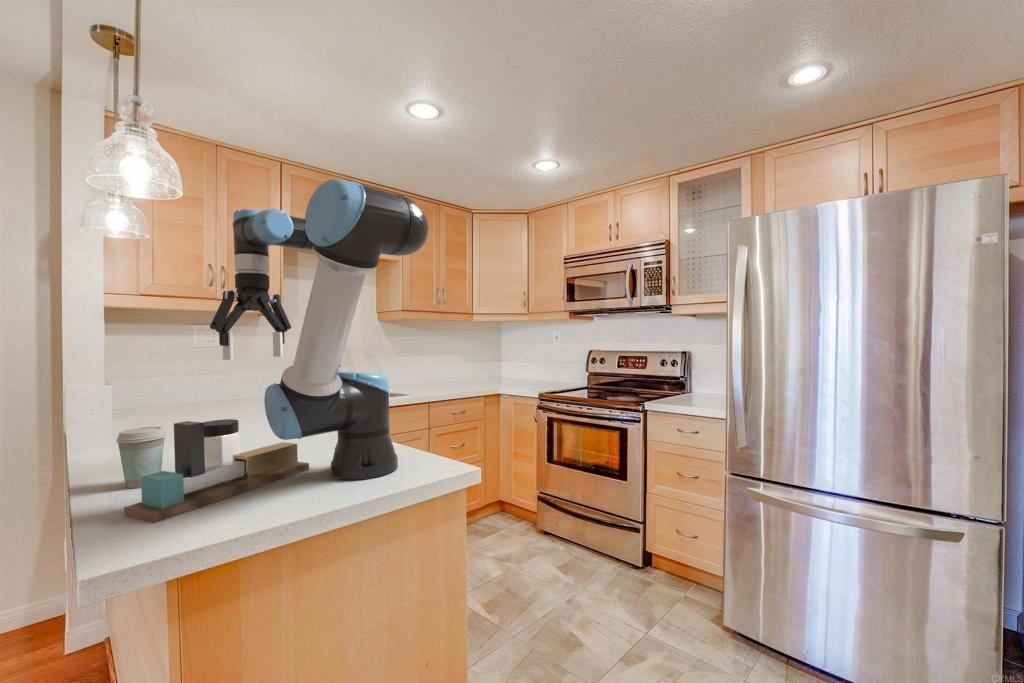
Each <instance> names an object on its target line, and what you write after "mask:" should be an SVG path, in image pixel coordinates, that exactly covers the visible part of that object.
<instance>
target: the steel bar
mask: <svg viewBox="0 0 1024 683" xmlns="http://www.w3.org/2000/svg"><path fill="white" fill-rule="evenodd" d="M173 439H174V440H173V441H174V446H173V447H174V473H179V474H183V487H184V494H186V493H189V492H192V491H196V490H199V489H202V488H205V487H209V486H212V485H215V484H218V483H221V482H225V481H228V480H231V479H234V478H237V477H241V476H244V475H246V460H244V459H237V460H233V461H229V462H226V463H222V464H218V465H215V466H211V467H207V468H205V454H204V423H203V422H199V421H192V420H191V421H190V420H187V421H186V420H185V421H181V422H174V423H173Z"/></svg>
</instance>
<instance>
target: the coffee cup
mask: <svg viewBox="0 0 1024 683" xmlns="http://www.w3.org/2000/svg"><path fill="white" fill-rule="evenodd" d="M165 437H167V433H166V432H165V430H164V427H162V426H146V427H145V426H144V427H136V428H130V429H125V430H122V431H119V432H118V436H117V438H116V442H115V443H117V445H118V450H119V456H120V462H121V466H122V473H123V477H124V482H125V488H127V489H139V488H141V477H142V476H146V475H150V474H154V473H158V472H161V471H162V466H163V455H164V448H165V446H164V445H165Z"/></svg>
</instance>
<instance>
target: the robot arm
mask: <svg viewBox="0 0 1024 683" xmlns="http://www.w3.org/2000/svg"><path fill="white" fill-rule="evenodd" d="M232 216H233V217H232V218H233V220H232V224H231V225H232V230H233V251H234V252H233V254H234V256H233V259H234V271H235V272H236V273H235V274H234V287H235V289H236V291H234V290H232V289H231V290H224V291H223V292H222V300H221V302H220V304H219V306H218V309H217V310H216V312H215V315H214V316H213V319H212V321H211V323H210V325H209V328H210V329H211V330H215V332H217V333H218V334H219V340H218V341H219V346H222V359H223V360H226V361H227V360H232V361H233V360H234V359H235V358H234V357H235V356H234V332H233V331H230V330H231V329H232V327H233V326H235V324H236V322H238V321H239V319H240V318H241V317H242V315H243V314H244V313H245V312H247V311H253V312H259V313H260V314H262V315H263V316H264V318H265V319H266V321H267V322H268V323H269V324H270V325H271V327H272V328H273V330H274V331H273V332H272V350H273V351H272V354H273V355H272V356H273V357H274V358H275V357H277V358H278V357H279V358H281V357H282V358H283V357H284V346H283V345H284V344H285V342H286V341H285V333H287V332H288V330H291V329H292V325H291V323H290V321H289V318H288V316H287V314H286V312H285V310H284V308H283V305H282V303H281V297H280V295H279V294H269V289H270V275H269V273H270V264H269V263H270V259H269V257H270V255H269V246H277V247H285V248H293V249H302V250H308V251H313V252H314V253H315V254H314V255H316V257H317V258H318V262H317V266H316V270H315V272H314V273H315V274H314V277H313V278H314V279H313V282H312V287H311V291H310V295H309V298H308V303H307V307H306V310H305V314H304V315H305V316H304V319H303V323H302V328H301V332H300V335H299V338H298V342H297V343H298V344H297V346H296V347H297V348H296V352H295V356H294V360H293V365H290V366H288V367H287V368H285V369H284V370H283V372H282V373H281V378H280V383H273V384H270V385H269V386H267V388H266V389H265V392H264V398H263V400H264V402H263V403H264V411H265V415H266V418H267V419H266V420H267V422H268V425H269V427H270V429H271V431H272V433H273V434H274V435H275V436H276V437H277V438H278V439H280V440H283V441H288V440H294V439H298V440H300V439H302V438H307V437H312V436H318V435H322V434H327V433H328V434H329V433H332V432H333V433H334V432H337V443H336V445H335V449H334V453H333V457H332V460H331V461H330V464H329V465H330V467H329V468H330V470H329V471H330V475H331V477H333V478H335V479H340V480H349V481H350V480H365V479H373V478H377V477H378V478H379V477H383V476H385V475H388V474H391V473H392V472H395V471H396V470H397V469H398V467H399V461H398V460H399V459H398V456H397V453H396V452H395V448H394V445H393V442H392V441H393V440H392V439H391V436H390V402H389V401H390V400H389V398H390V397H389V396H390V389H389V381H388V378H387V377H386V376H385V375H384V374H381V373H367V372H365V373H363V372H351V371H350V372H346V371H339V370H340V366H341V362H342V359H343V355H344V352H345V348H346V345H347V341H348V337H349V334H350V331H351V328H352V324H353V320H354V316H355V313H356V310H357V306H358V302H359V300H360V296H361V292H362V288H363V285H364V282H365V278H366V274H367V273H369V272H371V271H373V270H376V269H377V266H378V263H379V260H380V257H381V255H387V256H400V257H401V256H407V255H411V254H414V253H415V252H416V253H417V252H418V251H419V250H420V249H421V248H422V247H423V246H424V245H425V243H426V241H427V238H428V235H429V221H428V218H427V216H426V213H425V211H424V210H423V209H422V207H421V206H420V205H419V204H418V203H417V202H416V201H415V200H413V199H411V198H409V197H408V196H405V195H403V194H399V193H394V192H390V191H387V190H383V189H379V188H376V187H373V186H369V185H366V184H362V183H359V182H357V181H353V180H352V181H350V180H349V181H348V180H346V179H345V180H343V179H340V178H330V179H328V180H325V181H324V182H322V184H319V185H318V187H317V188H316V189H315V190H314V191H313V193H312V195H311V196H310V198H309V200H308V203H307V205H306V210H305V214H304V218H302V217H297V216H291V215H288V214H287V213H286V212H284V211H283V210H281V209H278V208H268V209H265V210H264V209H263V210H258V209H253V208H252V209H251V208H242V209H241V208H240V209H237V210H235V211H234V213H233V215H232ZM235 300H236V301H237V303H236V304H234V301H235ZM233 305H234V306H233ZM232 306H233V309H232V311H230V310H231V308H232ZM229 312H230V313H229Z"/></svg>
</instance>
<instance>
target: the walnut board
mask: <svg viewBox="0 0 1024 683" xmlns="http://www.w3.org/2000/svg"><path fill="white" fill-rule="evenodd" d="M308 470H310V463H309V462H304V461H298V464H295V465H292V466H289V467H286V468H283V469H280V470H277V471H274V472H271V473H267V474H264V475H261V476H258V477H255V478H252V479H249V480H248V479H241V478H234V479H231V480H228V481H225V482H221V483H218V484H215V485H212V486H209V487H205V488H202V489H199V490H196V491H192V492H189V493H186V494H184V502H181V503H178V504H175V505H172V506H169V507H166V508H163V509H161V508H156V507H152V506H147V505H143V504H142V501H140V502H137V503H134V504H130V505H128V506H124V510H123V511H124V516H126V517H130V518H133V519H136V520H137V519H138V520H143V521H147V522H151V523H158V522H161V521H164V520H167V519H168V518H169V519H170V518H172V517H175V516H178V515H180V514H184V513H187V512H189V511H192V510H195V509H197V508H201V507H205V506H207V505H210V504H213V503H216V502H218V501H221V500H224V499H227V498H230V497H233V496H236V495H239V494H241V493H245V492H247V491H249V490H250V491H251V490H253V489H257V488H258V487H262V486H264V485H265V486H266V485H268V484H270V483H273V482H275V481H280V480H281V479H285V478H288V477H291V476H294V475H296V474H299V473H301V472H305V471H308Z"/></svg>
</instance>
